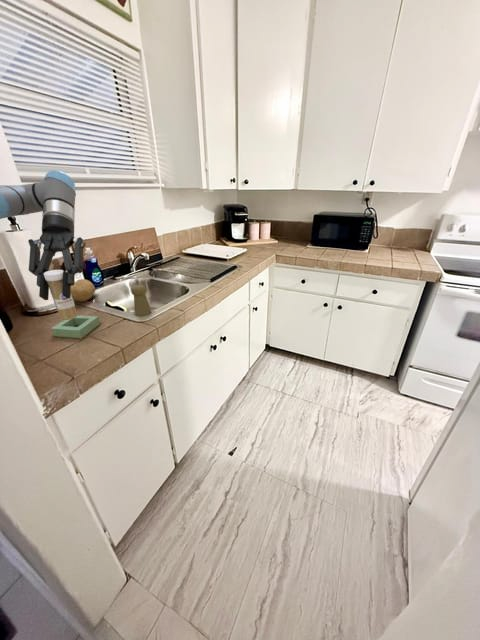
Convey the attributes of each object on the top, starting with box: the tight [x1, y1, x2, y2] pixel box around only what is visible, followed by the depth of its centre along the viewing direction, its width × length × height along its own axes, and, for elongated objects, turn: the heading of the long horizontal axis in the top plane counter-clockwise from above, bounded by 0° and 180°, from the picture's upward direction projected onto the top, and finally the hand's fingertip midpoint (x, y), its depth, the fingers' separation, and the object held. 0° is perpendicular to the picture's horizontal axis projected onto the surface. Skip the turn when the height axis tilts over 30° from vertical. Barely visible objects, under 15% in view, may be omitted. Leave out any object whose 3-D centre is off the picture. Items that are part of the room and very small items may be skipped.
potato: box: [71, 278, 96, 303], centre depth 111 cm, size 10×14×8 cm
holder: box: [51, 314, 101, 339], centre depth 89 cm, size 10×10×3 cm
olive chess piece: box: [130, 284, 152, 317], centre depth 99 cm, size 6×6×11 cm
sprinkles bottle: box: [44, 269, 79, 321], centre depth 71 cm, size 5×5×13 cm
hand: (55, 297), depth 68 cm, fingers closed on sprinkles bottle, 5 cm apart
